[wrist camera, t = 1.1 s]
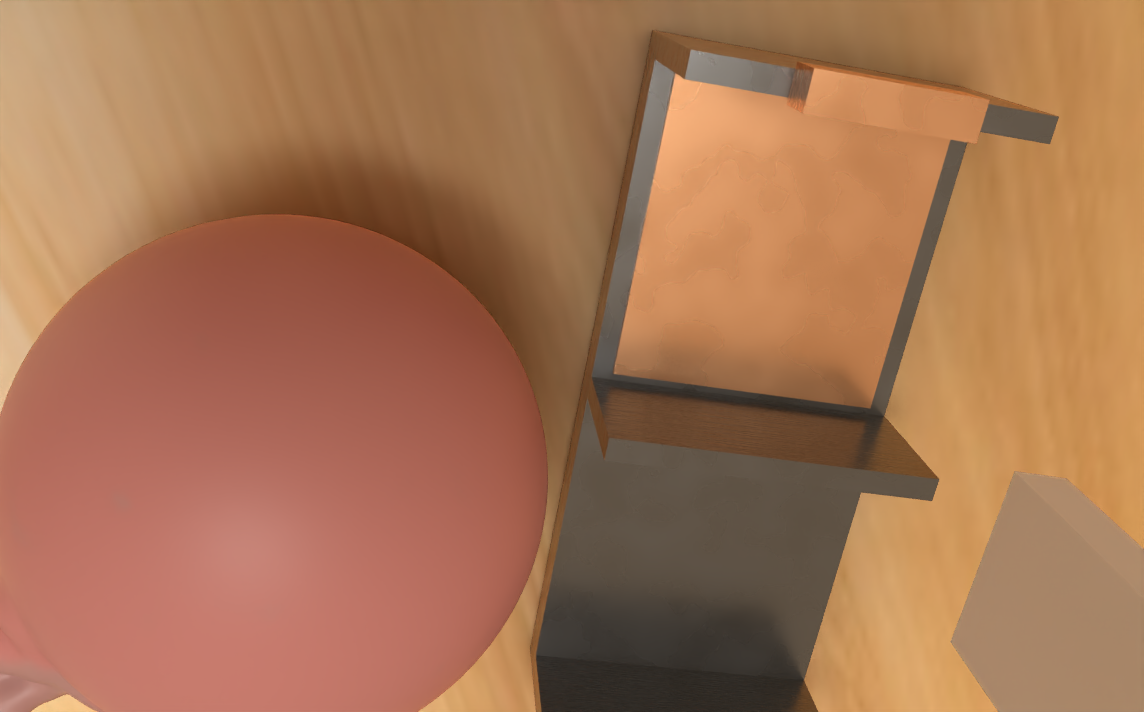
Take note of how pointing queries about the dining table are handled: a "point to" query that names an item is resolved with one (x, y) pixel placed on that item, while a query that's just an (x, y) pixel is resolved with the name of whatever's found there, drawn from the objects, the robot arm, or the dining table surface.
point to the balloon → (264, 479)
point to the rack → (744, 371)
